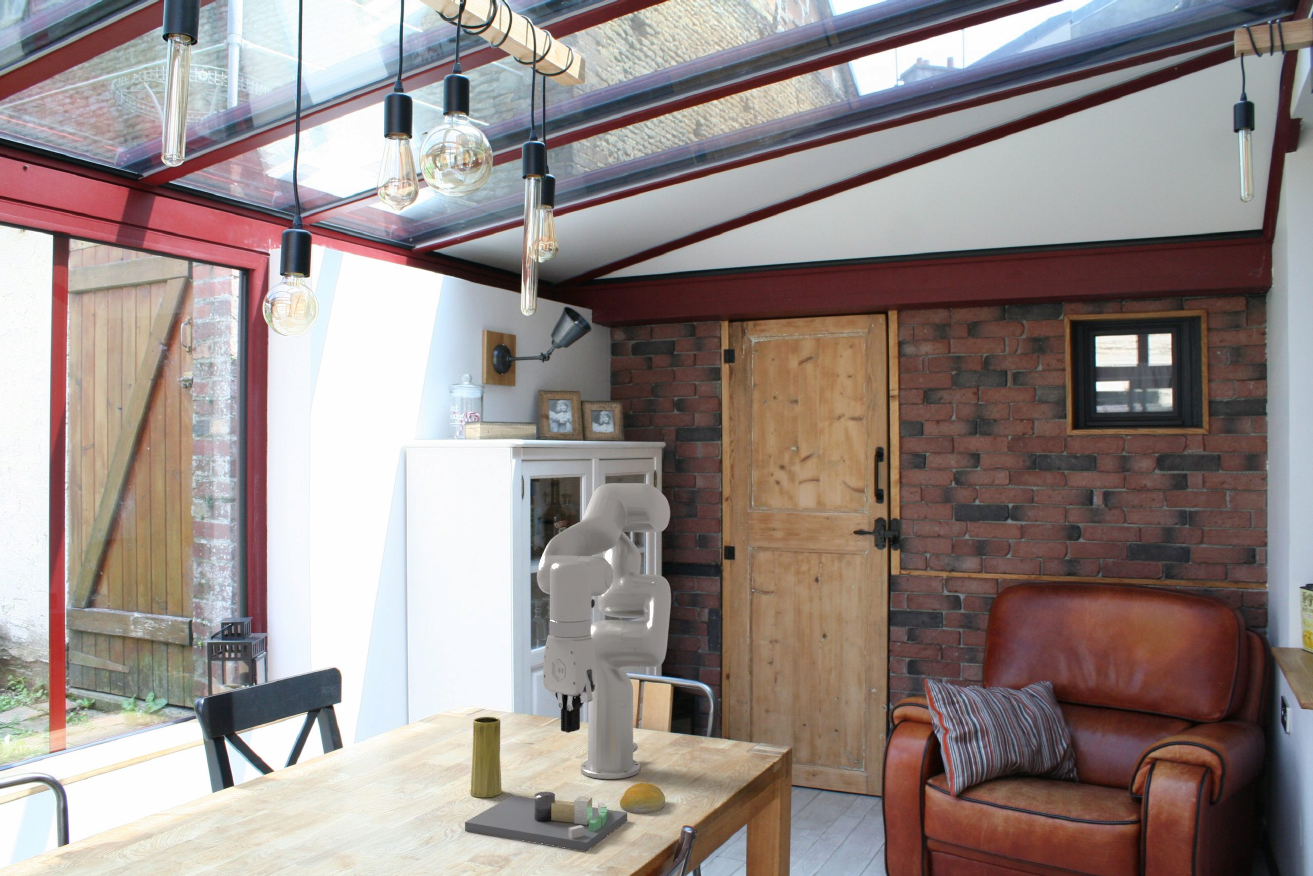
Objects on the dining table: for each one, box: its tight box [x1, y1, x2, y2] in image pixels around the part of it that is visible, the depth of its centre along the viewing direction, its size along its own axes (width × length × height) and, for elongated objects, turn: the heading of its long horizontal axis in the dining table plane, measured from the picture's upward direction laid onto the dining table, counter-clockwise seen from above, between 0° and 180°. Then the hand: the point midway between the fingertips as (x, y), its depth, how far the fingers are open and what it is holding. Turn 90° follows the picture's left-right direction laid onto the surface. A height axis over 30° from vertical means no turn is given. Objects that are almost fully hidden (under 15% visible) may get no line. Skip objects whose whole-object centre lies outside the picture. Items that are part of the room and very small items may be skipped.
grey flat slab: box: [464, 795, 628, 852], centre depth 175 cm, size 16×24×3 cm, turn 67°
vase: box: [470, 716, 503, 799], centre depth 193 cm, size 6×6×14 cm
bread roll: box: [619, 782, 666, 814], centre depth 186 cm, size 8×9×4 cm
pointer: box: [534, 791, 593, 825], centre depth 173 cm, size 10×4×4 cm, turn 74°
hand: (570, 730), depth 178 cm, fingers closed
